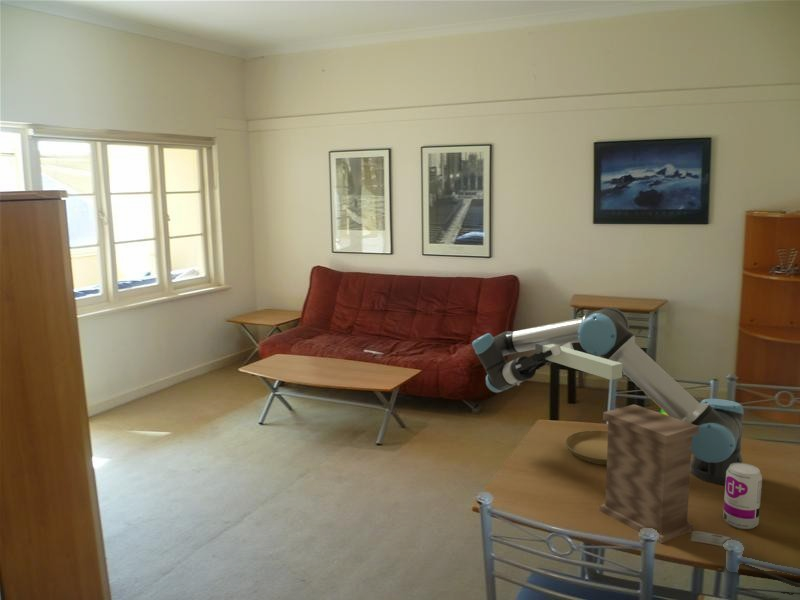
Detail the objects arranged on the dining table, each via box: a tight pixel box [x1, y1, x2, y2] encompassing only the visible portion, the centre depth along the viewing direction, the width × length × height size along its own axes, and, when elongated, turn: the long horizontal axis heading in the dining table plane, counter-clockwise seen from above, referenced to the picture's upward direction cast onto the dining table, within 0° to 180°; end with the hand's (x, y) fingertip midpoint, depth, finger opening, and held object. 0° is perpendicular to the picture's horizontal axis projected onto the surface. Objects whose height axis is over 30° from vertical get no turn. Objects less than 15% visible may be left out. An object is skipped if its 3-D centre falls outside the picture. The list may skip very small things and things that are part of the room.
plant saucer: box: [565, 429, 608, 466], centre depth 221 cm, size 24×24×3 cm
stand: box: [599, 404, 699, 544], centre depth 174 cm, size 20×12×28 cm, turn 30°
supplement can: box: [722, 462, 763, 530], centre depth 173 cm, size 8×8×15 cm
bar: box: [534, 342, 623, 381], centre depth 192 cm, size 30×4×4 cm, turn 30°
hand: (565, 347), depth 196 cm, fingers closed on bar, 4 cm apart
